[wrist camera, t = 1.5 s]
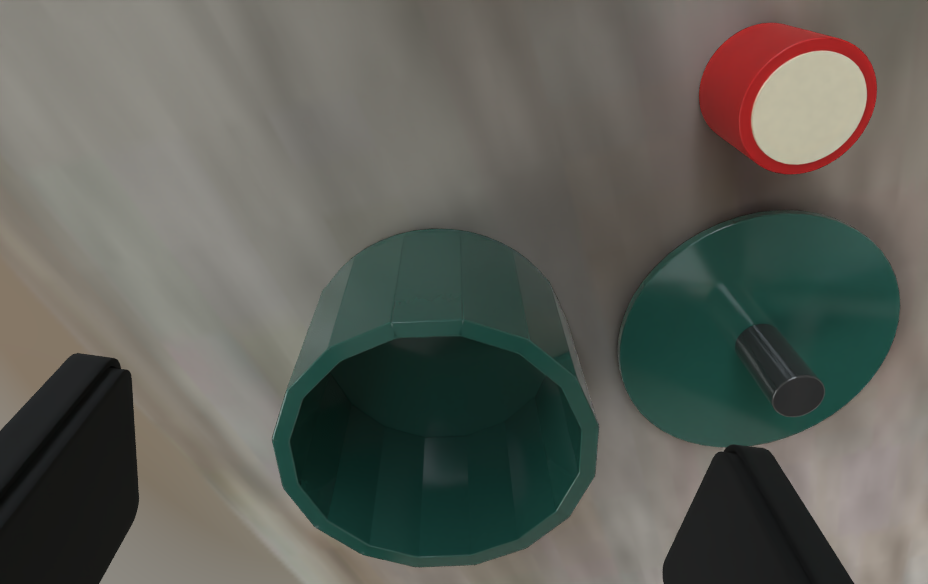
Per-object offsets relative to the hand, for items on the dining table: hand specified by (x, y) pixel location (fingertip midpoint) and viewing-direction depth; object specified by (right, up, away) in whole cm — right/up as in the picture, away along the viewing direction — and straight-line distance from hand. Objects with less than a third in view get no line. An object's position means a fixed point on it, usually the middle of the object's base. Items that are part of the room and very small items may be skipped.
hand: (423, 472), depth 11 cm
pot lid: (+17, 0, +27) cm, 32 cm away
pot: (-1, 0, +27) cm, 28 cm away
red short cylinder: (+15, +13, +21) cm, 29 cm away
